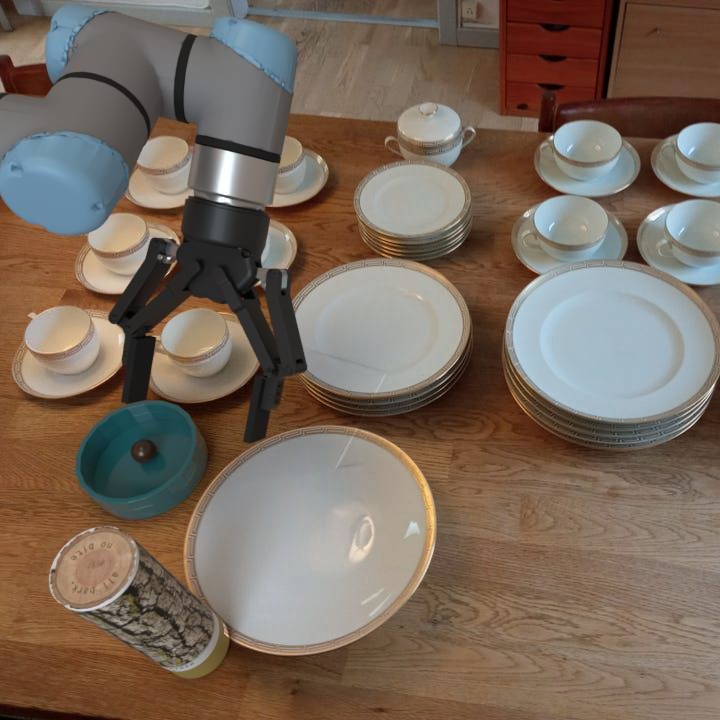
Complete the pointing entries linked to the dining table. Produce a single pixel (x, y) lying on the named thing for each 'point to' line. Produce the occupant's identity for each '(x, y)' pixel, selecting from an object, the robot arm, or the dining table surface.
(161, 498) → the bowl
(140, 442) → the bead
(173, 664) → the paper tube
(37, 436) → the dining table surface
